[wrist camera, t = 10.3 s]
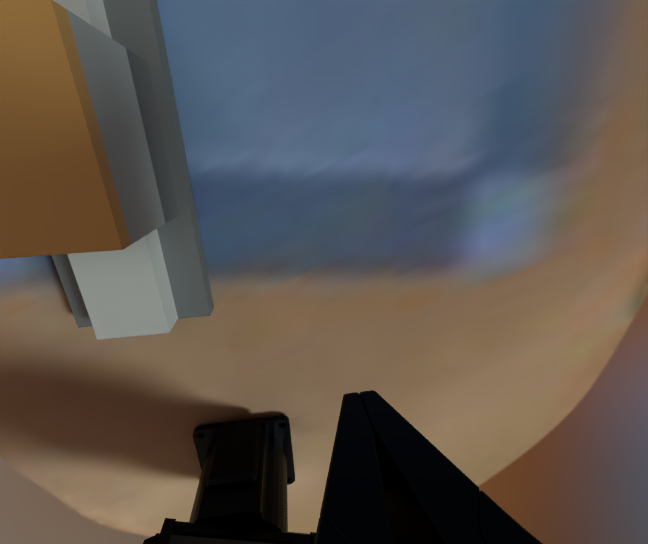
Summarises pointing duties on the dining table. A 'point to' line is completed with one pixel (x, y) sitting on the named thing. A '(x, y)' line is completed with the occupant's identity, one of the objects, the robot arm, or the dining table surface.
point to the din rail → (184, 224)
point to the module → (75, 137)
